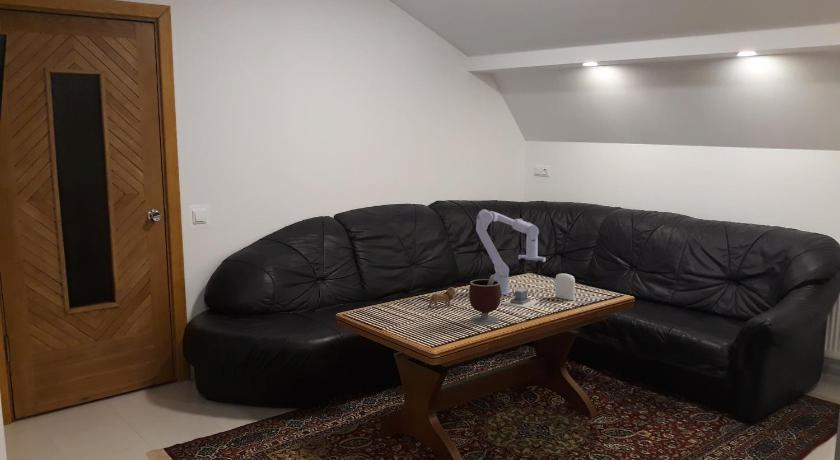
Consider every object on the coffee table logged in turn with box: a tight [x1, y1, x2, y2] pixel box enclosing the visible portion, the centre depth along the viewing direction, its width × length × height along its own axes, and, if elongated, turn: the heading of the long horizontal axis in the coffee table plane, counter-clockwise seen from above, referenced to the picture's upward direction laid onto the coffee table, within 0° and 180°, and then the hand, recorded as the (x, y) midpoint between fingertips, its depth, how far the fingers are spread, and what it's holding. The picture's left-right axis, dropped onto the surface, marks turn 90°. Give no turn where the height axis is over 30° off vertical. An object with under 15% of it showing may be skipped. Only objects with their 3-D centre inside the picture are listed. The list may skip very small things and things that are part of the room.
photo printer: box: [555, 273, 576, 301], centre depth 318 cm, size 10×4×12 cm, turn 39°
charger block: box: [514, 288, 528, 301], centre depth 311 cm, size 4×5×6 cm
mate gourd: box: [468, 272, 502, 326], centre depth 281 cm, size 16×14×20 cm
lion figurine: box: [427, 286, 457, 309], centre depth 306 cm, size 15×5×9 cm, turn 114°
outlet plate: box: [500, 297, 540, 309], centre depth 311 cm, size 13×14×2 cm
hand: (531, 274), depth 332 cm, fingers open, 7 cm apart
